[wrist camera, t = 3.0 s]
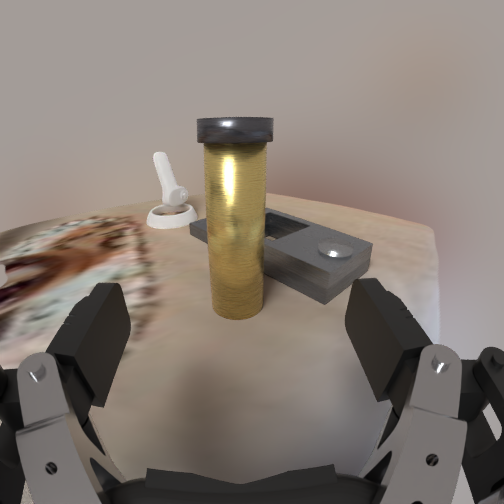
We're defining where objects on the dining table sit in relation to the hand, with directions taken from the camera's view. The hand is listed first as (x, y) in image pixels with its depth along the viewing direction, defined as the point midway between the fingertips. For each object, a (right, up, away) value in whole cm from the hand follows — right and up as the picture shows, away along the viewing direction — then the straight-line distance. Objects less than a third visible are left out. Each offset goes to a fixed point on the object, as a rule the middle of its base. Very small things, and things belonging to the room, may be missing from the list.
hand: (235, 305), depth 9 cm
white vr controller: (-11, +6, +32) cm, 34 cm away
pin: (-1, -2, +13) cm, 14 cm away
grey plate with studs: (+3, +2, +22) cm, 22 cm away
